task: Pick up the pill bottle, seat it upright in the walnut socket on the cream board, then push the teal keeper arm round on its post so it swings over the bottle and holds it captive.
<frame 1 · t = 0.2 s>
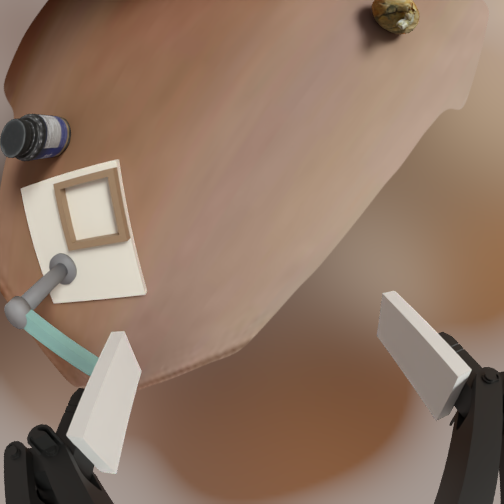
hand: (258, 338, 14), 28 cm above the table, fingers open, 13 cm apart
pill bottle: (56, 136, 33), on the table
onion: (386, 20, 30), on the table
base board: (79, 237, 38), on the table
keeper arm: (52, 339, 27), point 15 cm above the table, hinge at 0.0°
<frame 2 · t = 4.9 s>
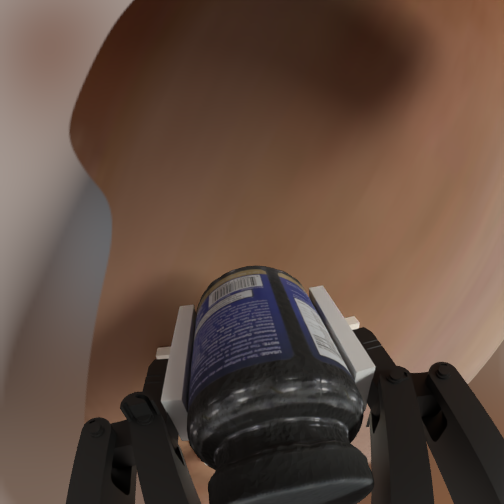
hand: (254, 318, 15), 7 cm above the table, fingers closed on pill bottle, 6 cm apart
pill bottle: (253, 310, 16), point 7 cm above the table, touching gripper
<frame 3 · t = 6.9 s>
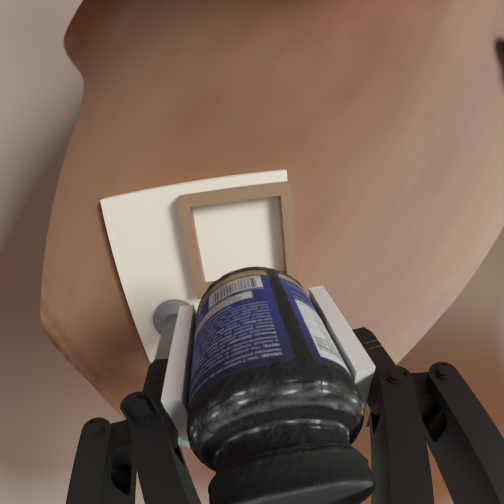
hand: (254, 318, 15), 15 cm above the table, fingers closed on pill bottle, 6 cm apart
pill bottle: (253, 311, 16), point 14 cm above the table, touching gripper
base board: (206, 276, 30), on the table
keeper arm: (220, 444, 19), point 15 cm above the table, hinge at 0.0°
when the fingers open (4 cm above the table, at t = 9.0 s): pill bottle drops 2 cm, resting on base board.
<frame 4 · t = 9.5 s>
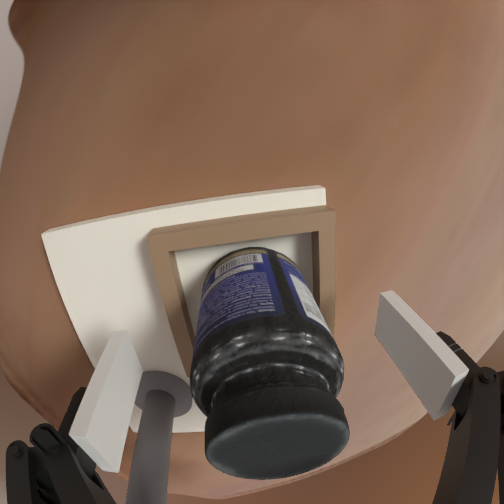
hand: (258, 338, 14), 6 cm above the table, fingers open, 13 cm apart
pill bottle: (253, 288, 18), point 1 cm above the table, touching base board
base board: (200, 341, 20), on the table
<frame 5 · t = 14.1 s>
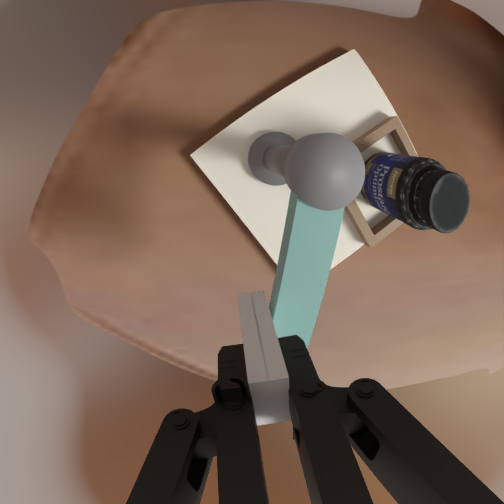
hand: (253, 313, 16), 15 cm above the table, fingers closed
pill bottle: (381, 180, 28), point 1 cm above the table, touching base board
base board: (326, 167, 28), on the table
keeper arm: (301, 277, 15), point 15 cm above the table, hinge at 0.1°, touching gripper
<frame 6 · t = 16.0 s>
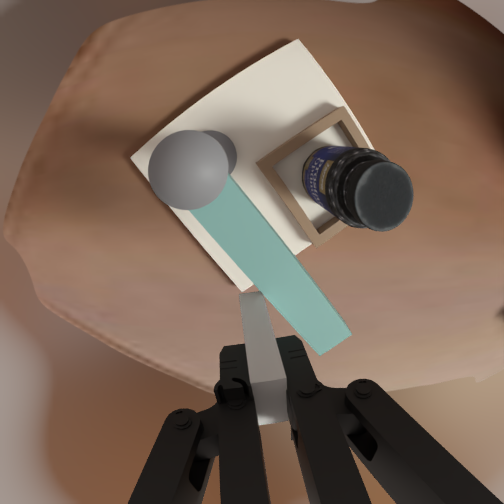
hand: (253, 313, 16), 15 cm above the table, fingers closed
pill bottle: (329, 175, 27), point 1 cm above the table, touching base board
base board: (268, 164, 28), on the table
keeper arm: (262, 255, 15), point 15 cm above the table, hinge at 46.8°, touching gripper
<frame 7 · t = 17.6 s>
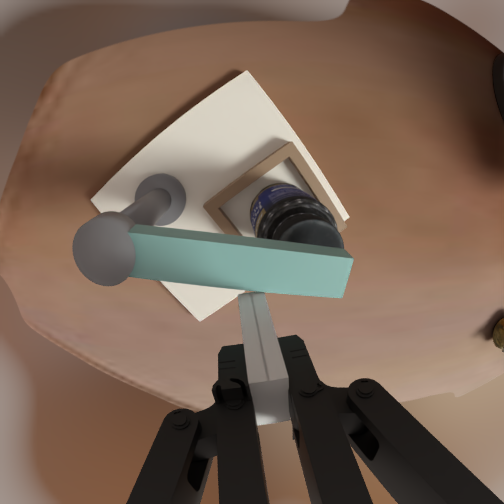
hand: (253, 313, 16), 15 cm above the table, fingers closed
pill bottle: (280, 212, 29), point 1 cm above the table, touching base board
onion: (498, 325, 41), on the table
base board: (218, 202, 29), on the table
keeper arm: (210, 260, 15), point 15 cm above the table, hinge at 90.0°, touching gripper
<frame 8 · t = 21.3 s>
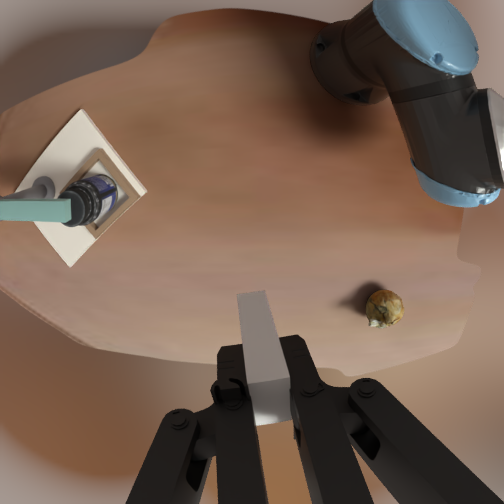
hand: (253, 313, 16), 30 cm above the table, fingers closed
pill bottle: (102, 193, 40), point 1 cm above the table, touching base board
onion: (376, 301, 54), on the table
base board: (73, 190, 40), on the table
keeper arm: (21, 209, 26), point 15 cm above the table, hinge at 92.2°
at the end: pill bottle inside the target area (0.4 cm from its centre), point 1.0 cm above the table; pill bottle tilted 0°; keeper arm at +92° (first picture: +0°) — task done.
